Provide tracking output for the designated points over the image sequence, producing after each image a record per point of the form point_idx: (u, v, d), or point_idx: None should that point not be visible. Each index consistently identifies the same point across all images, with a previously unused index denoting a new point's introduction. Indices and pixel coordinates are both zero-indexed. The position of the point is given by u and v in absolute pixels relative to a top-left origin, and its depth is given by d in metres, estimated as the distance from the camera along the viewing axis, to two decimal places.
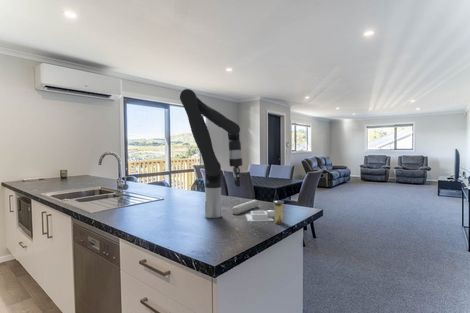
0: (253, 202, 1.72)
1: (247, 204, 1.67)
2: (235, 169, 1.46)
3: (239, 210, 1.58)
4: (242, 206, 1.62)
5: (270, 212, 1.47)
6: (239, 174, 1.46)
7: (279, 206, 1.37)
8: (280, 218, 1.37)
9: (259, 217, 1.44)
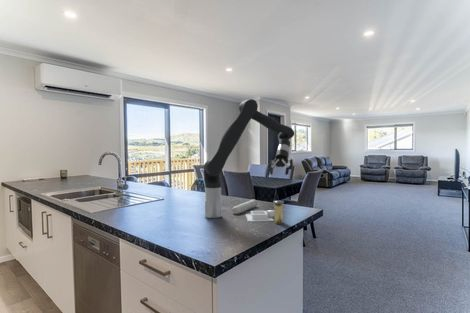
0: (252, 202, 1.73)
1: (247, 204, 1.67)
2: None
3: (239, 210, 1.58)
4: (242, 206, 1.62)
5: (270, 212, 1.47)
6: (292, 165, 1.51)
7: (279, 206, 1.37)
8: (280, 218, 1.37)
9: (259, 217, 1.44)
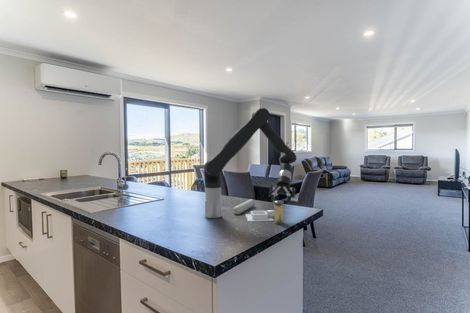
0: (250, 202, 1.74)
1: (246, 204, 1.67)
2: (294, 187, 1.46)
3: (240, 210, 1.58)
4: (242, 206, 1.62)
5: (270, 212, 1.47)
6: (294, 193, 1.45)
7: (279, 206, 1.37)
8: (280, 218, 1.37)
9: (259, 217, 1.44)
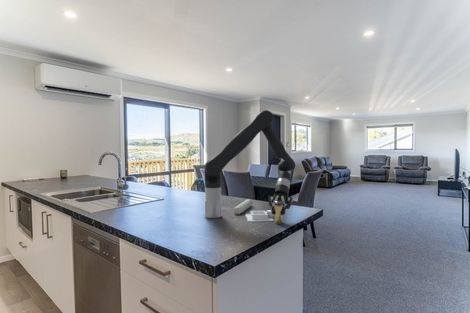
0: (248, 201, 1.74)
1: (245, 204, 1.68)
2: (292, 198, 1.40)
3: (241, 210, 1.58)
4: (242, 206, 1.62)
5: (270, 212, 1.47)
6: (290, 205, 1.40)
7: (279, 206, 1.37)
8: (280, 218, 1.37)
9: (259, 217, 1.44)
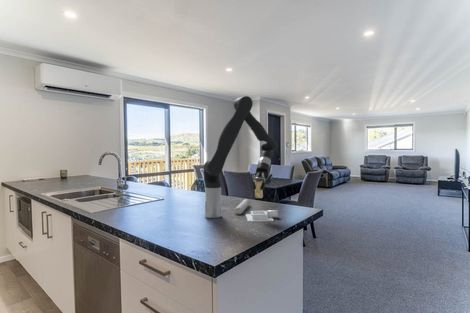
0: (247, 201, 1.75)
1: (244, 203, 1.68)
2: None
3: (242, 210, 1.58)
4: (243, 206, 1.63)
5: (270, 212, 1.47)
6: (270, 181, 1.49)
7: (259, 181, 1.46)
8: (260, 193, 1.46)
9: (259, 217, 1.44)
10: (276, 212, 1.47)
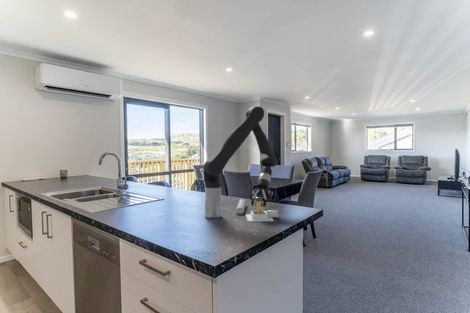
0: (244, 201, 1.76)
1: (243, 203, 1.69)
2: (272, 191, 1.49)
3: (243, 210, 1.59)
4: (243, 206, 1.63)
5: (270, 212, 1.47)
6: (271, 197, 1.49)
7: (259, 201, 1.46)
8: (260, 213, 1.46)
9: (259, 217, 1.44)
10: (276, 212, 1.47)
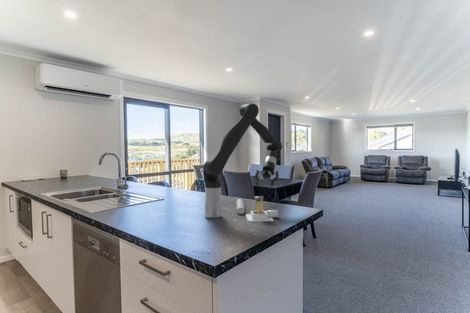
0: (242, 201, 1.76)
1: (242, 203, 1.69)
2: None
3: None
4: (243, 206, 1.63)
5: (270, 212, 1.47)
6: None
7: (259, 201, 1.46)
8: (260, 212, 1.47)
9: (259, 217, 1.44)
10: (276, 212, 1.47)
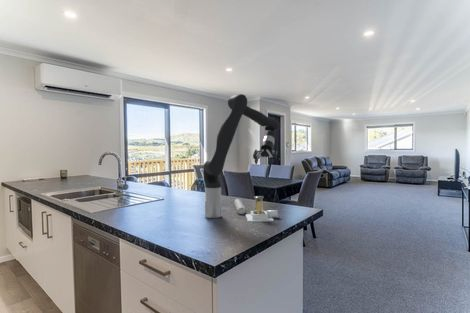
0: (240, 201, 1.76)
1: (241, 203, 1.69)
2: None
3: None
4: (243, 205, 1.63)
5: (270, 212, 1.47)
6: (276, 155, 1.57)
7: (259, 201, 1.46)
8: (260, 212, 1.47)
9: (259, 217, 1.44)
10: (276, 212, 1.47)
